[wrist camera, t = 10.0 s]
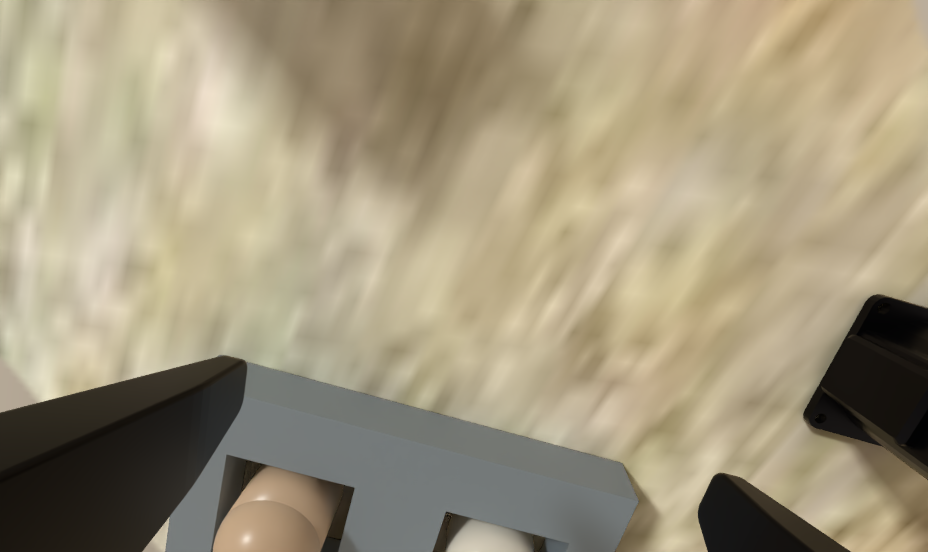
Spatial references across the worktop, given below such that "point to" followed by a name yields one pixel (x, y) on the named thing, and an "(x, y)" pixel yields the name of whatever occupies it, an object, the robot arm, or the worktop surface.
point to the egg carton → (386, 478)
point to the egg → (485, 537)
